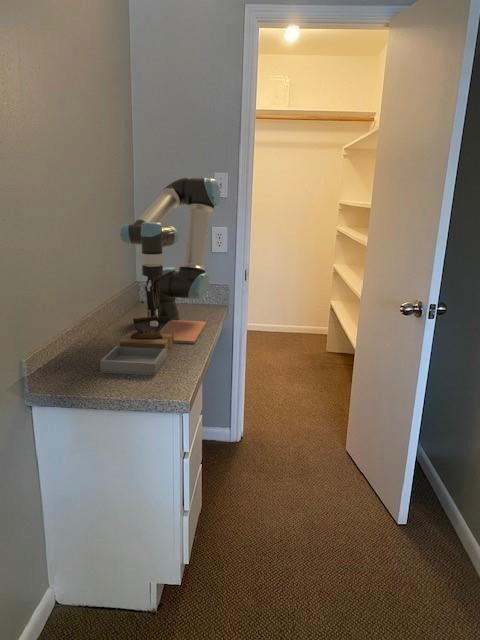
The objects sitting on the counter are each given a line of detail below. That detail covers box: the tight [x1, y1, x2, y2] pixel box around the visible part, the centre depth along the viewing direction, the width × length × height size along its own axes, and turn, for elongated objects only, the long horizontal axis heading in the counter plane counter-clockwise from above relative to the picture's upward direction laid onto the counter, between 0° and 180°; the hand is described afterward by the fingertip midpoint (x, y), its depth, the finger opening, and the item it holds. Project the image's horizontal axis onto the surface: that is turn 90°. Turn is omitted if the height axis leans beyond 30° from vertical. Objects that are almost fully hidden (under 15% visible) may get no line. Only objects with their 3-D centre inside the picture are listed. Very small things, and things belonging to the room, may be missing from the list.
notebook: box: [158, 319, 207, 345], centre depth 187 cm, size 27×17×2 cm, turn 174°
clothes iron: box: [131, 315, 162, 339], centre depth 164 cm, size 7×11×10 cm, turn 113°
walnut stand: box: [119, 330, 175, 355], centre depth 166 cm, size 14×16×5 cm
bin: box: [99, 345, 168, 376], centre depth 151 cm, size 16×18×4 cm
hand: (154, 325), depth 174 cm, fingers closed
